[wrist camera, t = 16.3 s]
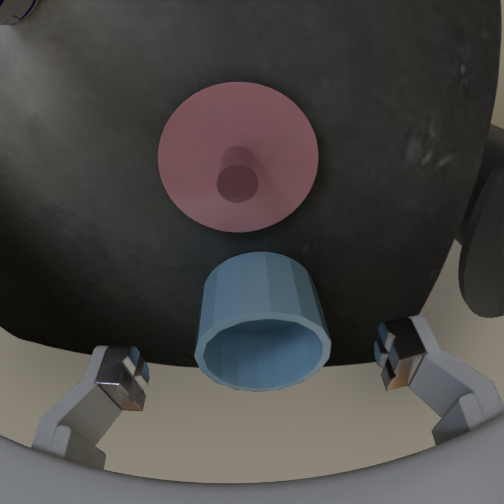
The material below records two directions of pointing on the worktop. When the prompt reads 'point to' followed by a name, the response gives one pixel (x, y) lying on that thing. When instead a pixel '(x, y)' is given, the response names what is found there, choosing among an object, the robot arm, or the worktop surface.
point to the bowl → (261, 324)
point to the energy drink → (15, 10)
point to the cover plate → (238, 128)
